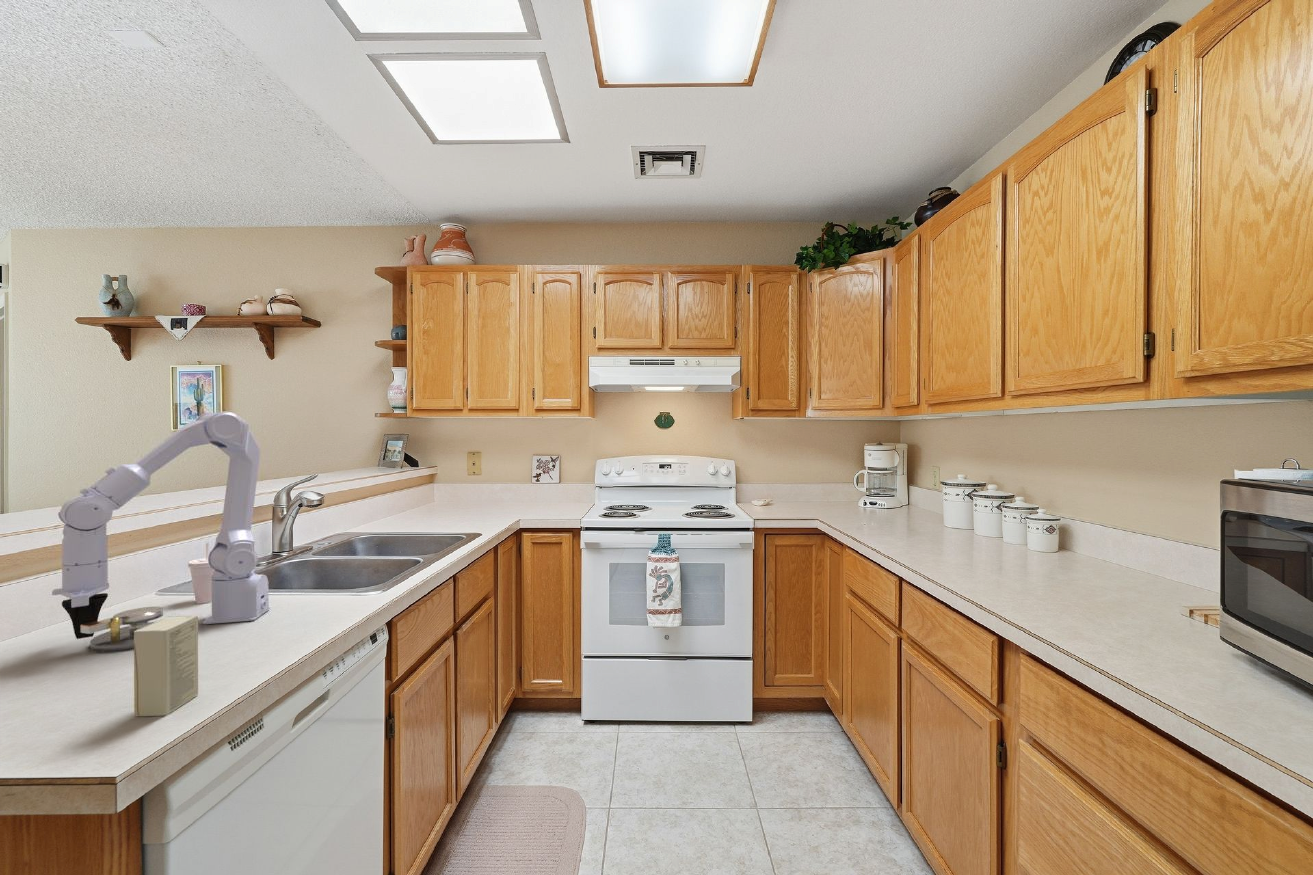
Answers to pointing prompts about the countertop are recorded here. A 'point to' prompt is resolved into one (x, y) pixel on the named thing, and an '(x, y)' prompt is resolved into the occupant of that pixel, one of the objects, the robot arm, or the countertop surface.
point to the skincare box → (165, 665)
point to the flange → (125, 619)
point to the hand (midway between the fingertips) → (85, 636)
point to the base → (116, 637)
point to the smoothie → (202, 578)
